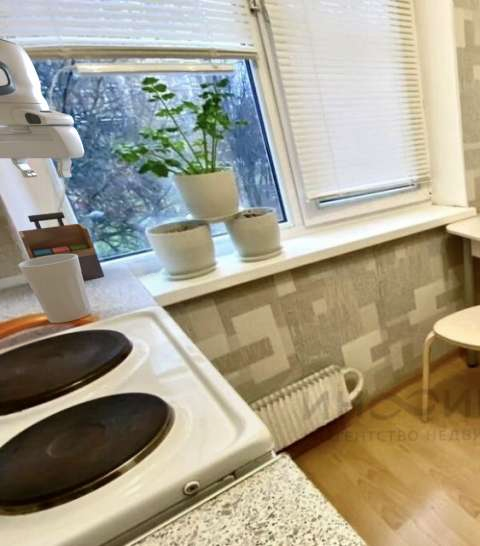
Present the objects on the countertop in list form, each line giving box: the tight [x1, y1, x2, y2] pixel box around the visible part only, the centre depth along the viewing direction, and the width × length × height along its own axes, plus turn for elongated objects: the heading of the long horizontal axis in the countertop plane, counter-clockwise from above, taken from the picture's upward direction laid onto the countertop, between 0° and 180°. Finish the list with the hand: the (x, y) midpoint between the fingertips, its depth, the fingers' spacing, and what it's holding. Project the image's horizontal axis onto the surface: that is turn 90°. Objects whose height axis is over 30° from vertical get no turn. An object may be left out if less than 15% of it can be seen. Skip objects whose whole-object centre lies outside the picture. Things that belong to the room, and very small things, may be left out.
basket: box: [17, 211, 97, 260], centre depth 103 cm, size 11×10×10 cm
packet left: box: [33, 249, 53, 257], centre depth 102 cm, size 3×5×1 cm, turn 51°
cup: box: [17, 254, 93, 324], centre depth 83 cm, size 8×8×12 cm
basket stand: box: [78, 253, 105, 282], centre depth 105 cm, size 11×10×6 cm
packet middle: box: [51, 246, 71, 254], centre depth 104 cm, size 3×5×1 cm, turn 51°
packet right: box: [69, 243, 88, 251], centre depth 106 cm, size 3×5×1 cm, turn 51°
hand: (48, 177), depth 102 cm, fingers open, 8 cm apart
